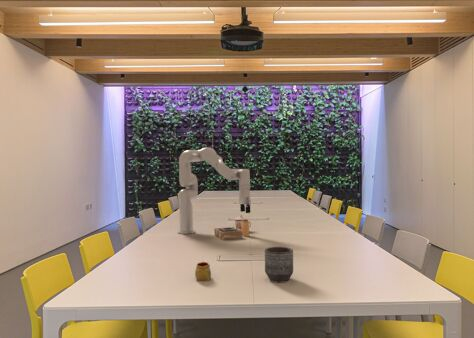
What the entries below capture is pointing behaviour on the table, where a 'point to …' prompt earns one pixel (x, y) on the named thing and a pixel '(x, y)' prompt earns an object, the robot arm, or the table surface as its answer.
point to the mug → (202, 271)
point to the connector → (245, 227)
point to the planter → (279, 263)
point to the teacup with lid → (239, 222)
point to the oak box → (228, 233)
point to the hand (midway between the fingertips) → (245, 212)
